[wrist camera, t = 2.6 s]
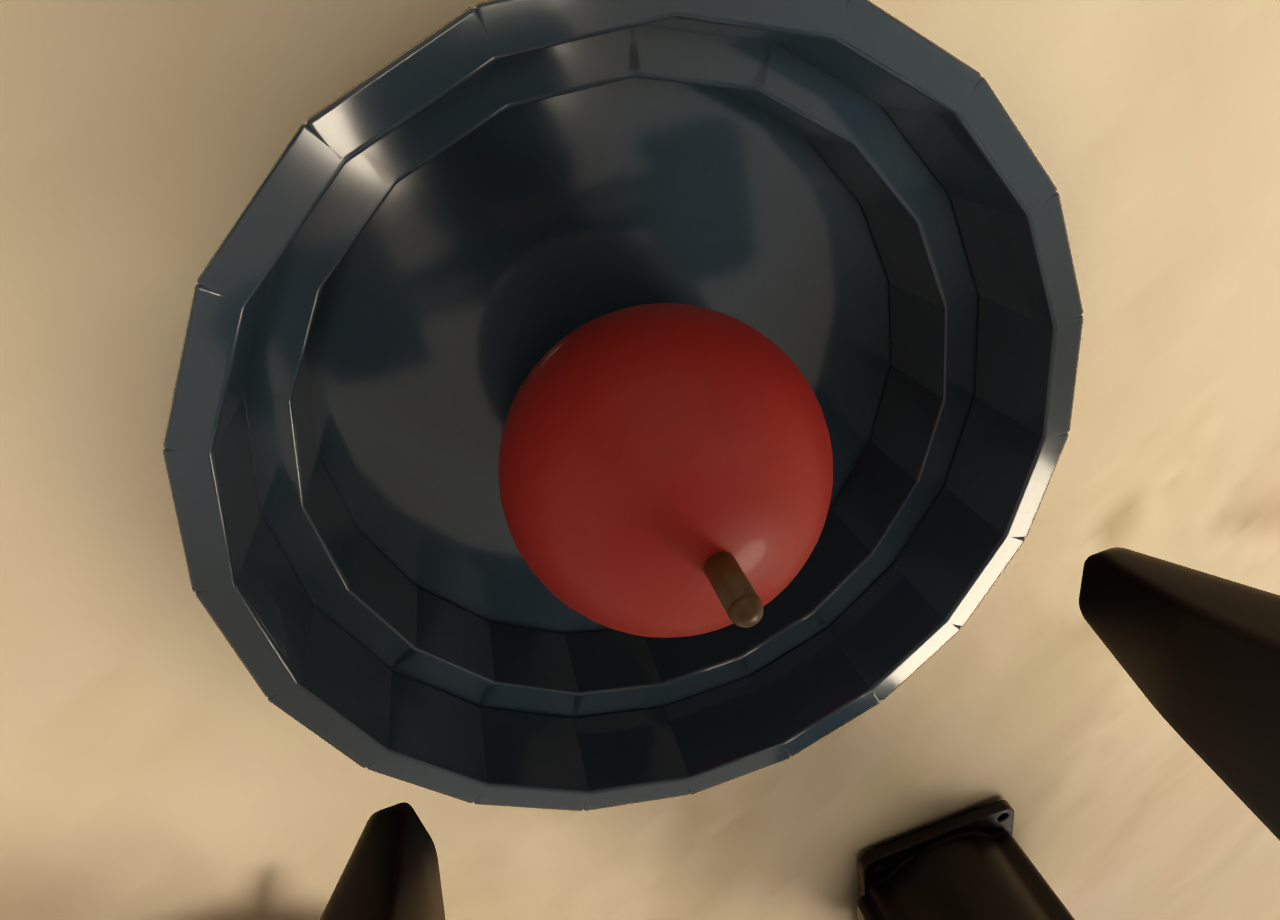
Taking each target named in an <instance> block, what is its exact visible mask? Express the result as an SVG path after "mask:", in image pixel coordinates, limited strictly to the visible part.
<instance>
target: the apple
mask: <svg viewBox="0 0 1280 920" xmlns="http://www.w3.org/2000/svg"><path fill="white" fill-rule="evenodd" d="M498 478H499V490H500V498H501V504H502V507H503V511H504V514H505V518H506V521H507V525H508V528H509V531H510V533H511V536H512V538H513V540H514V542H515V544H516V546H517V548H518V550H519V552H520V553H521V555H522V557H523V558H524V560H525V562H526V563H527V565H528V566H529V567H530V569H531V570H532V572H533V573H534V575H535V576H536V577H537V578H538V579H539V580H540V581H541V582H542V583H543V584H544V585H545V586H546V588H547V589H548V590H549V591H550V592H551V593H552V594H553V595H554V596H555V597H557V598H558V599H559V600H560V601H562V602H563V603H564V604H566V605H567V606H568V607H570V608H571V609H573V610H574V611H576V612H578V613H579V614H581V615H583V616H585V617H586V618H588V619H590V620H591V621H593V622H596V623H598V624H601V625H603V626H605V627H608V628H611V629H614V630H618V631H621V632H625V633H629V634H632V635H638V636H645V637H660V638H674V637H686V636H694V635H699V634H704V633H708V632H712V631H715V630H718V629H721V628H724V627H726V626H729V625H731V624H735V625H737V626H739V627H744V628H748V627H752V626H754V625H756V624H757V623H758V622H759V621H760V620H761V618H762V616H763V607H764V606H765V605H766V604H767V603H769V602H770V601H771V600H773V599H774V598H775V597H776V596H777V595H778V594H779V593H780V592H782V591H783V590H784V589H785V588H786V587H787V586H788V585H789V583H790V582H791V581H792V580H793V579H794V578H795V576H796V575H797V574H798V573H799V571H800V570H801V568H802V567H803V565H804V564H805V563H806V561H807V559H808V558H809V556H810V554H811V553H812V551H813V549H814V547H815V545H816V544H817V542H818V539H819V537H820V535H821V532H822V530H823V527H824V524H825V520H826V517H827V513H828V509H829V505H830V501H831V494H832V487H833V453H832V447H831V440H830V435H829V431H828V428H827V424H826V421H825V418H824V415H823V411H822V408H821V406H820V404H819V402H818V400H817V398H816V396H815V394H814V392H813V390H812V388H811V386H810V385H809V383H808V381H807V379H806V378H805V377H804V375H803V374H802V372H801V371H800V370H799V368H798V367H797V366H796V364H795V363H794V362H793V361H792V360H791V359H790V358H789V357H788V356H787V355H786V354H785V353H784V352H783V351H782V350H781V349H780V348H779V347H778V346H777V345H776V344H775V343H774V342H773V341H772V340H770V339H769V338H767V337H766V336H765V335H763V334H762V333H761V332H759V331H758V330H756V329H754V328H753V327H751V326H750V325H748V324H746V323H744V322H742V321H740V320H738V319H736V318H734V317H732V316H730V315H727V314H724V313H721V312H718V311H715V310H712V309H708V308H704V307H699V306H694V305H689V304H681V303H654V304H643V305H637V306H633V307H628V308H624V309H619V310H616V311H613V312H610V313H607V314H605V315H602V316H599V317H597V318H595V319H593V320H591V321H589V322H587V323H585V324H583V325H581V326H580V327H578V328H577V329H575V330H574V331H572V332H571V333H569V334H568V335H566V336H565V337H563V338H562V339H561V340H560V341H559V342H558V343H557V344H555V345H554V346H553V347H552V348H551V349H550V350H549V351H548V352H547V353H546V354H545V355H544V356H543V357H542V358H541V360H540V361H539V362H538V363H537V364H536V365H535V366H534V368H533V369H532V370H531V372H530V373H529V375H528V376H527V378H526V379H525V381H524V382H523V383H522V385H521V386H520V388H519V390H518V392H517V394H516V396H515V398H514V400H513V402H512V404H511V407H510V410H509V413H508V416H507V419H506V422H505V425H504V429H503V433H502V438H501V444H500V449H499V464H498Z"/></svg>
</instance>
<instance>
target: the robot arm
mask: <svg viewBox="0 0 1280 920" xmlns="http://www.w3.org/2000/svg"><path fill="white" fill-rule="evenodd" d="M1079 606H1080V610H1081V612H1082V615H1083V616H1084V618H1085V620H1086V621H1087V623H1088V624H1089V625H1090V626H1091V628H1092V629H1093V630H1094V631H1095V633H1096V634H1097V635H1098V637H1099V638H1100V639H1101V640H1102V642H1103V643H1104V644H1105V645H1106V647H1107V648H1108V649H1109V650H1110V652H1111V653H1112V654H1113V656H1114V657H1115V658H1116V659H1117V661H1118V662H1119V663H1120V664H1121V666H1122V667H1123V668H1124V669H1125V671H1126V672H1127V673H1128V674H1129V676H1130V677H1131V678H1132V680H1133V681H1134V682H1135V683H1136V685H1137V686H1138V687H1139V688H1140V690H1141V691H1142V692H1143V693H1144V695H1145V696H1146V697H1147V699H1148V700H1149V701H1150V702H1151V703H1152V705H1153V706H1154V707H1155V708H1156V709H1157V711H1158V712H1159V713H1160V714H1161V715H1162V717H1163V718H1164V719H1165V720H1166V721H1167V722H1168V723H1169V724H1170V725H1171V727H1172V728H1173V729H1174V730H1175V731H1176V732H1177V733H1178V734H1179V735H1180V736H1181V737H1182V738H1183V739H1184V740H1185V742H1186V743H1187V744H1188V745H1189V746H1190V747H1191V748H1192V749H1193V750H1194V751H1195V752H1196V753H1197V754H1198V755H1199V756H1200V757H1201V758H1202V759H1203V760H1204V761H1205V763H1206V764H1207V765H1208V766H1209V767H1210V768H1211V769H1212V770H1213V771H1214V772H1215V773H1216V774H1217V775H1218V776H1219V777H1220V778H1221V779H1222V780H1223V781H1224V782H1225V784H1226V785H1227V786H1228V787H1229V788H1230V789H1231V790H1232V791H1233V792H1234V793H1235V794H1236V795H1237V796H1238V797H1239V798H1240V799H1241V800H1242V801H1243V802H1244V803H1245V805H1246V806H1247V807H1248V808H1249V809H1250V810H1251V811H1252V812H1253V813H1254V814H1255V815H1256V816H1257V817H1258V818H1259V819H1260V820H1261V821H1262V822H1263V823H1264V824H1265V825H1266V827H1267V828H1268V829H1269V830H1270V831H1271V832H1272V833H1273V834H1274V835H1275V836H1276V837H1277V838H1278V839H1279V840H1280V596H1279V595H1276V594H1272V593H1269V592H1266V591H1263V590H1259V589H1256V588H1253V587H1249V586H1246V585H1243V584H1240V583H1236V582H1233V581H1230V580H1227V579H1223V578H1220V577H1217V576H1214V575H1210V574H1207V573H1204V572H1200V571H1197V570H1194V569H1191V568H1187V567H1184V566H1181V565H1178V564H1174V563H1171V562H1168V561H1164V560H1161V559H1158V558H1155V557H1151V556H1148V555H1145V554H1142V553H1138V552H1135V551H1132V550H1128V549H1125V548H1119V547H1117V548H1111V549H1108V550H1105V551H1102V552H1099V553H1096V554H1094V555H1091V556H1089V557H1088V558H1087V560H1086V561H1085V563H1084V568H1083V575H1082V582H1081V589H1080V596H1079ZM1013 820H1014V810H1013V809H1012V807H1011V806H1010V805H1009V804H1008V802H1007V801H1005V800H999V801H995V802H993V803H990V804H988V805H985V806H983V807H980V808H978V809H975V810H972V811H970V812H967V813H965V814H962V815H960V816H957V817H955V818H952V819H950V820H947V821H944V822H942V823H939V824H937V825H934V826H932V827H929V828H927V829H924V830H921V831H919V832H916V833H914V834H911V835H909V836H906V837H904V838H901V839H898V840H896V841H893V842H891V843H888V844H886V845H883V846H881V847H878V848H875V849H873V850H870V851H868V852H866V853H865V854H863V855H862V856H861V857H860V859H859V861H858V867H859V879H860V892H861V896H859V899H858V902H857V914H858V920H1075V919H1074V918H1073V917H1072V915H1071V914H1070V913H1069V911H1068V910H1067V909H1066V907H1065V906H1064V905H1063V903H1062V902H1061V901H1060V899H1059V898H1058V897H1057V895H1056V894H1055V893H1054V891H1053V890H1052V889H1051V887H1050V886H1049V885H1048V884H1047V882H1046V881H1045V880H1044V878H1043V877H1042V876H1041V874H1040V873H1039V872H1038V870H1037V869H1036V868H1035V866H1034V865H1033V864H1032V862H1031V861H1030V860H1029V858H1028V857H1027V856H1026V854H1025V853H1024V852H1023V850H1022V849H1021V848H1020V846H1019V845H1018V844H1017V842H1016V841H1015V840H1014V838H1013V837H1012V829H1013ZM320 920H445V913H444V905H443V897H442V889H441V881H440V873H439V865H438V858H437V853H436V849H435V846H434V843H433V841H432V839H431V837H430V835H429V834H428V832H427V831H426V829H425V827H424V826H423V824H422V822H421V821H420V819H419V817H418V816H417V814H416V813H415V811H414V809H413V808H412V807H411V806H410V805H409V804H408V803H405V802H404V803H399V804H396V805H394V806H391V807H388V808H385V809H383V810H380V811H378V812H376V813H374V814H373V815H372V816H371V817H370V819H369V820H368V822H367V824H366V826H365V828H364V830H363V832H362V834H361V836H360V838H359V840H358V842H357V844H356V846H355V848H354V851H353V853H352V855H351V857H350V859H349V861H348V863H347V865H346V867H345V869H344V871H343V873H342V875H341V877H340V879H339V881H338V883H337V885H336V888H335V890H334V892H333V894H332V896H331V898H330V900H329V902H328V904H327V906H326V908H325V910H324V912H323V914H322V916H321V918H320Z"/></svg>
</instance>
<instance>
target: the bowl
mask: <svg viewBox="0 0 1280 920" xmlns="http://www.w3.org/2000/svg"><path fill="white" fill-rule="evenodd" d="M1056 191H1057V189H1056V187H1055V185H1054V184H1053V182H1052V181H1051V179H1050V178H1049V176H1048V175H1047V173H1046V172H1045V170H1044V168H1043V167H1042V165H1041V164H1040V162H1039V161H1038V159H1037V158H1036V156H1035V155H1034V153H1033V152H1032V150H1031V149H1030V147H1029V146H1028V144H1027V143H1026V141H1025V139H1024V138H1023V136H1022V135H1021V133H1020V132H1019V130H1018V129H1017V127H1016V126H1015V124H1014V123H1013V121H1012V120H1011V118H1010V117H1009V115H1008V113H1007V112H1006V110H1005V109H1004V107H1003V106H1002V104H1001V103H1000V101H999V100H998V98H997V97H996V95H995V94H994V92H993V91H992V89H991V87H990V86H989V84H988V83H987V81H986V80H985V79H984V78H983V77H981V75H980V73H979V72H978V71H976V70H975V69H973V68H972V67H970V66H969V65H967V64H965V63H964V62H962V61H961V60H959V59H958V58H956V57H955V56H953V55H952V54H950V53H949V52H947V51H946V50H944V49H943V48H941V47H939V46H938V45H936V44H935V43H933V42H932V41H930V40H929V39H927V38H926V37H924V36H923V35H921V34H920V33H918V32H916V31H915V30H913V29H912V28H910V27H909V26H907V25H906V24H904V23H903V22H901V21H900V20H898V19H897V18H895V17H893V16H892V15H890V14H889V13H887V12H886V11H884V10H883V9H881V8H880V7H878V6H877V5H875V4H874V3H872V2H870V1H869V0H489V1H485V2H480V3H478V4H477V5H476V6H475V7H470V8H468V9H466V10H465V11H463V12H462V13H460V14H459V15H457V16H456V17H454V18H453V19H452V20H450V21H449V22H447V23H446V24H444V25H443V26H441V27H440V28H438V29H437V30H436V31H434V32H433V33H431V34H430V35H428V36H427V37H425V38H424V39H422V40H421V41H420V42H418V43H417V44H415V45H414V46H412V47H411V48H409V49H408V50H406V51H405V52H404V53H402V54H401V55H399V56H398V57H396V58H395V59H393V60H392V61H390V62H389V63H388V64H386V65H385V66H383V67H382V68H380V69H379V70H377V71H376V72H375V73H373V74H372V75H370V76H369V77H367V78H366V79H364V80H363V81H361V82H360V83H359V84H357V85H356V86H354V87H353V88H351V89H350V90H348V91H347V92H345V93H344V94H343V95H341V96H340V97H338V98H337V99H335V100H334V101H332V102H331V103H329V104H328V105H327V106H325V107H324V108H322V109H321V110H319V111H318V112H316V113H315V114H313V115H312V116H311V117H309V118H308V120H307V122H305V123H304V124H302V125H301V126H300V127H299V129H298V130H297V132H296V133H295V135H294V136H293V138H292V139H291V141H290V142H289V144H288V145H287V147H286V148H285V150H284V151H283V153H282V154H281V156H280V157H279V158H278V160H277V161H276V163H275V164H274V166H273V167H272V169H271V170H270V172H269V173H268V175H267V176H266V178H265V179H264V181H263V182H262V184H261V185H260V187H259V188H258V190H257V191H256V193H255V194H254V196H253V197H252V199H251V200H250V202H249V203H248V205H247V206H246V208H245V209H244V211H243V212H242V214H241V215H240V217H239V218H238V220H237V221H236V223H235V224H234V226H233V227H232V228H231V230H230V231H229V233H228V234H227V236H226V237H225V239H224V240H223V242H222V243H221V245H220V246H219V248H218V249H217V251H216V252H215V254H214V255H213V257H212V258H211V260H210V261H209V263H208V264H207V266H206V267H205V269H204V270H203V272H202V273H201V275H200V276H199V278H198V280H197V283H198V284H197V285H196V286H195V288H194V293H193V298H192V303H191V308H190V313H189V318H188V323H187V328H186V333H185V338H184V343H183V348H182V353H181V358H180V363H179V368H178V373H177V378H176V383H175V388H174V393H173V398H172V403H171V408H170V413H169V418H168V423H167V428H166V433H165V438H164V443H163V444H164V450H163V454H164V459H165V463H166V468H167V473H168V477H169V482H170V487H171V491H172V496H173V501H174V505H175V510H176V515H177V519H178V524H179V529H180V533H181V538H182V543H183V548H184V552H185V557H186V562H187V566H188V571H189V576H190V580H191V585H192V589H193V591H195V592H196V596H197V597H198V599H199V600H200V602H201V603H202V605H203V606H204V608H205V609H206V610H207V612H208V613H209V615H210V616H211V618H212V619H213V621H214V622H215V623H216V625H217V626H218V628H219V629H220V631H221V632H222V634H223V635H224V637H225V638H226V639H227V641H228V642H229V644H230V645H231V647H232V648H233V650H234V651H235V653H236V654H237V655H238V657H239V658H240V660H241V661H242V663H243V664H244V666H245V667H246V668H247V670H248V671H249V673H250V674H251V676H252V677H253V679H254V680H255V682H256V683H257V684H258V686H259V687H260V689H261V690H262V692H263V693H264V695H265V696H266V697H268V700H269V701H270V702H271V703H273V704H274V705H276V706H277V707H278V708H280V709H281V710H283V711H284V712H285V713H287V714H288V715H290V716H291V717H293V718H294V719H295V720H297V721H298V722H300V723H301V724H302V725H304V726H305V727H307V728H308V729H309V730H311V731H312V732H314V733H315V734H316V735H318V736H319V737H321V738H322V739H324V740H325V741H326V742H328V743H329V744H331V745H332V746H333V747H335V748H336V749H338V750H339V751H340V752H342V753H343V754H345V755H346V756H348V757H349V758H350V759H352V760H353V761H355V762H356V763H357V764H359V765H360V766H362V767H363V768H365V767H367V768H368V769H369V770H372V771H375V772H378V773H381V774H384V775H387V776H390V777H393V778H396V779H399V780H402V781H405V782H408V783H412V784H415V785H418V786H421V787H424V788H427V789H430V790H433V791H436V792H439V793H442V794H445V795H448V796H451V797H454V798H457V799H460V800H463V801H466V802H469V803H473V802H474V803H475V804H483V805H498V806H513V807H528V808H543V809H558V810H573V811H582V810H583V809H584V810H585V811H588V810H594V809H601V808H607V807H613V806H620V805H626V804H633V803H639V802H646V801H652V800H659V799H665V798H671V797H678V796H684V795H688V794H689V793H690V794H694V793H697V792H700V791H702V790H705V789H708V788H710V787H713V786H716V785H719V784H721V783H724V782H727V781H729V780H732V779H735V778H737V777H740V776H743V775H746V774H748V773H751V772H754V771H756V770H759V769H762V768H764V767H767V766H770V765H772V764H775V763H778V762H781V761H783V760H786V759H789V758H790V756H793V755H795V754H797V753H798V752H800V751H802V750H803V749H805V748H807V747H808V746H810V745H812V744H813V743H815V742H816V741H818V740H820V739H821V738H823V737H825V736H826V735H828V734H830V733H831V732H833V731H834V730H836V729H838V728H839V727H841V726H843V725H844V724H846V723H848V722H849V721H851V720H852V719H854V718H856V717H857V716H859V715H861V714H862V713H864V712H866V711H867V710H869V709H871V708H872V707H874V706H875V705H877V704H879V703H880V700H884V699H885V698H886V697H887V696H888V695H890V694H891V693H892V692H893V691H894V690H895V689H896V688H897V687H898V686H899V685H900V684H902V683H903V682H904V681H905V680H906V679H907V678H908V677H909V676H910V675H911V674H912V673H914V672H915V671H916V670H917V669H918V668H919V667H920V666H921V665H922V664H923V663H924V662H926V661H927V660H928V659H929V658H930V657H931V656H932V655H933V654H934V653H935V652H936V651H937V650H939V649H940V648H941V647H942V646H943V645H944V644H945V643H946V642H947V641H948V640H949V639H951V638H952V637H953V636H954V635H955V634H956V633H957V632H958V631H959V630H960V627H962V626H964V624H965V623H966V622H967V620H968V619H969V617H970V616H971V615H972V613H973V612H974V610H975V609H976V608H977V606H978V605H979V603H980V602H981V601H982V599H983V598H984V596H985V595H986V594H987V592H988V591H989V589H990V588H991V587H992V585H993V584H994V582H995V581H996V580H997V578H998V577H999V575H1000V574H1001V573H1002V571H1003V570H1004V569H1005V567H1006V566H1007V564H1008V563H1009V562H1010V560H1011V559H1012V557H1013V556H1014V555H1015V553H1016V552H1017V550H1018V549H1019V548H1020V546H1021V545H1022V543H1023V542H1024V540H1025V539H1024V538H1025V537H1026V536H1027V535H1028V533H1029V530H1030V528H1031V525H1032V523H1033V520H1034V518H1035V515H1036V513H1037V511H1038V508H1039V506H1040V503H1041V501H1042V498H1043V496H1044V494H1045V491H1046V489H1047V486H1048V484H1049V481H1050V479H1051V477H1052V474H1053V472H1054V469H1055V467H1056V464H1057V462H1058V459H1059V457H1060V455H1061V452H1062V450H1063V447H1064V445H1065V442H1066V440H1067V438H1068V433H1067V432H1069V430H1070V424H1071V416H1072V408H1073V399H1074V391H1075V383H1076V374H1077V366H1078V358H1079V349H1080V341H1081V333H1082V324H1083V316H1082V314H1083V309H1082V304H1081V299H1080V294H1079V289H1078V285H1077V280H1076V275H1075V270H1074V265H1073V260H1072V255H1071V250H1070V246H1069V241H1068V236H1067V231H1066V226H1065V221H1064V216H1063V211H1062V206H1061V202H1060V197H1059V194H1058V193H1057V192H1056ZM654 303H681V304H689V305H694V306H699V307H704V308H708V309H712V310H715V311H718V312H721V313H724V314H727V315H730V316H732V317H734V318H736V319H738V320H740V321H742V322H744V323H746V324H748V325H750V326H751V327H753V328H754V329H756V330H758V331H759V332H761V333H762V334H763V335H765V336H766V337H767V338H769V339H770V340H772V341H773V342H774V343H775V344H776V345H777V346H778V347H779V348H780V349H781V350H782V351H783V352H784V353H785V354H786V355H787V356H788V357H789V358H790V359H791V360H792V361H793V362H794V363H795V364H796V366H797V367H798V368H799V370H800V371H801V372H802V374H803V375H804V377H805V378H806V379H807V381H808V383H809V385H810V386H811V388H812V390H813V392H814V394H815V396H816V398H817V400H818V402H819V404H820V406H821V408H822V411H823V415H824V418H825V421H826V424H827V428H828V431H829V435H830V440H831V447H832V453H833V487H832V494H831V501H830V505H829V509H828V513H827V517H826V520H825V524H824V527H823V530H822V532H821V535H820V537H819V539H818V542H817V544H816V545H815V547H814V549H813V551H812V553H811V554H810V556H809V558H808V559H807V561H806V563H805V564H804V565H803V567H802V568H801V570H800V571H799V573H798V574H797V575H796V576H795V578H794V579H793V580H792V581H791V582H790V583H789V585H788V586H787V587H786V588H785V589H784V590H783V591H782V592H780V593H779V594H778V595H777V596H776V597H775V598H774V599H773V600H771V601H770V602H769V603H767V604H766V605H765V606H764V607H763V616H762V618H761V620H760V621H759V622H758V623H757V624H756V625H754V626H752V627H748V628H744V627H739V626H737V625H735V624H731V625H729V626H726V627H724V628H721V629H718V630H715V631H712V632H708V633H704V634H699V635H694V636H686V637H674V638H660V637H645V636H638V635H632V634H629V633H625V632H621V631H618V630H614V629H611V628H608V627H605V626H603V625H601V624H598V623H596V622H593V621H591V620H590V619H588V618H586V617H585V616H583V615H581V614H579V613H578V612H576V611H574V610H573V609H571V608H570V607H568V606H567V605H566V604H564V603H563V602H562V601H560V600H559V599H558V598H557V597H555V596H554V595H553V594H552V593H551V592H550V591H549V590H548V589H547V588H546V586H545V585H544V584H543V583H542V582H541V581H540V580H539V579H538V578H537V577H536V576H535V575H534V573H533V572H532V570H531V569H530V567H529V566H528V565H527V563H526V562H525V560H524V558H523V557H522V555H521V553H520V552H519V550H518V548H517V546H516V544H515V542H514V540H513V538H512V536H511V533H510V531H509V528H508V525H507V521H506V518H505V514H504V511H503V507H502V504H501V498H500V490H499V478H498V464H499V449H500V444H501V438H502V433H503V429H504V425H505V422H506V419H507V416H508V413H509V410H510V407H511V404H512V402H513V400H514V398H515V396H516V394H517V392H518V390H519V388H520V386H521V385H522V383H523V382H524V381H525V379H526V378H527V376H528V375H529V373H530V372H531V370H532V369H533V368H534V366H535V365H536V364H537V363H538V362H539V361H540V360H541V358H542V357H543V356H544V355H545V354H546V353H547V352H548V351H549V350H550V349H551V348H552V347H553V346H554V345H555V344H557V343H558V342H559V341H560V340H561V339H562V338H563V337H565V336H566V335H568V334H569V333H571V332H572V331H574V330H575V329H577V328H578V327H580V326H581V325H583V324H585V323H587V322H589V321H591V320H593V319H595V318H597V317H599V316H602V315H605V314H607V313H610V312H613V311H616V310H619V309H624V308H628V307H633V306H637V305H643V304H654Z"/></svg>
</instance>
